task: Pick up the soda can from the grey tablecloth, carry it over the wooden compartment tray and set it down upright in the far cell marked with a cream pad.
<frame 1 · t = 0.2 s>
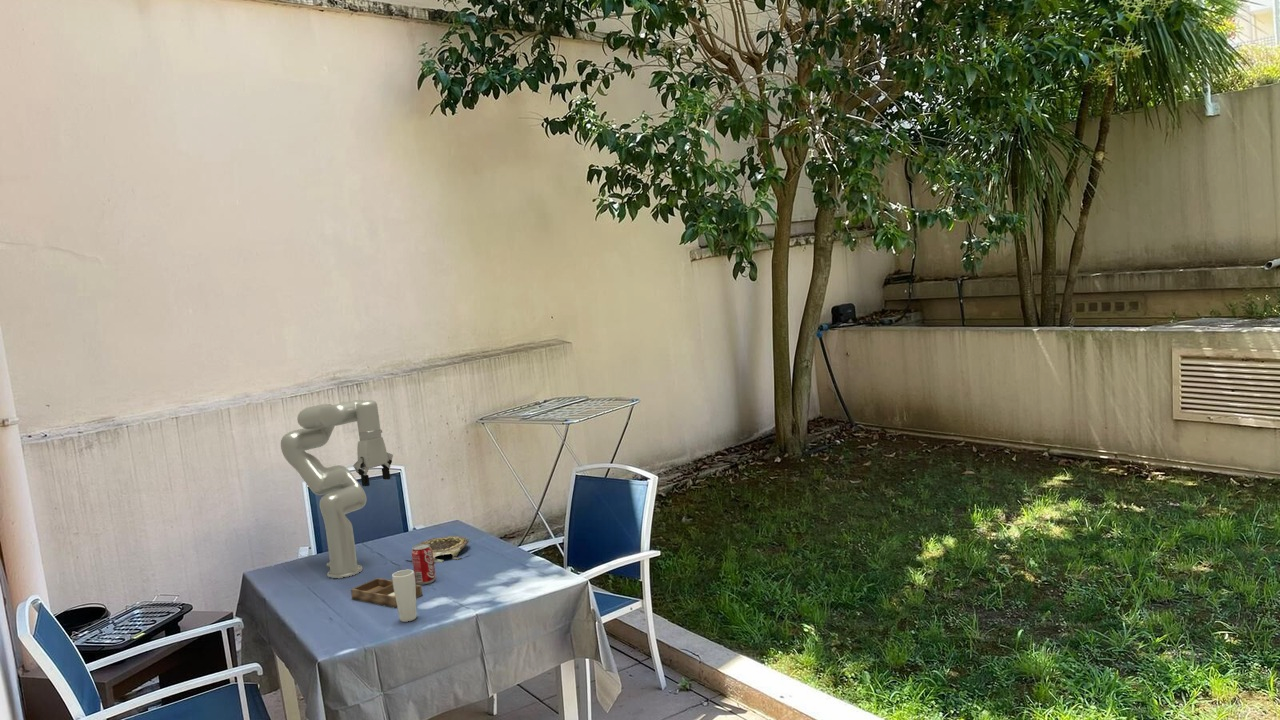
hand: (376, 482, 307), 36 cm above the table, tool pointing down, fingers open, 9 cm apart
pie: (443, 554, 338), on the table
soda can: (425, 582, 304), on the table
wooden compartment tray: (387, 597, 292), on the table
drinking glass: (408, 619, 270), on the table
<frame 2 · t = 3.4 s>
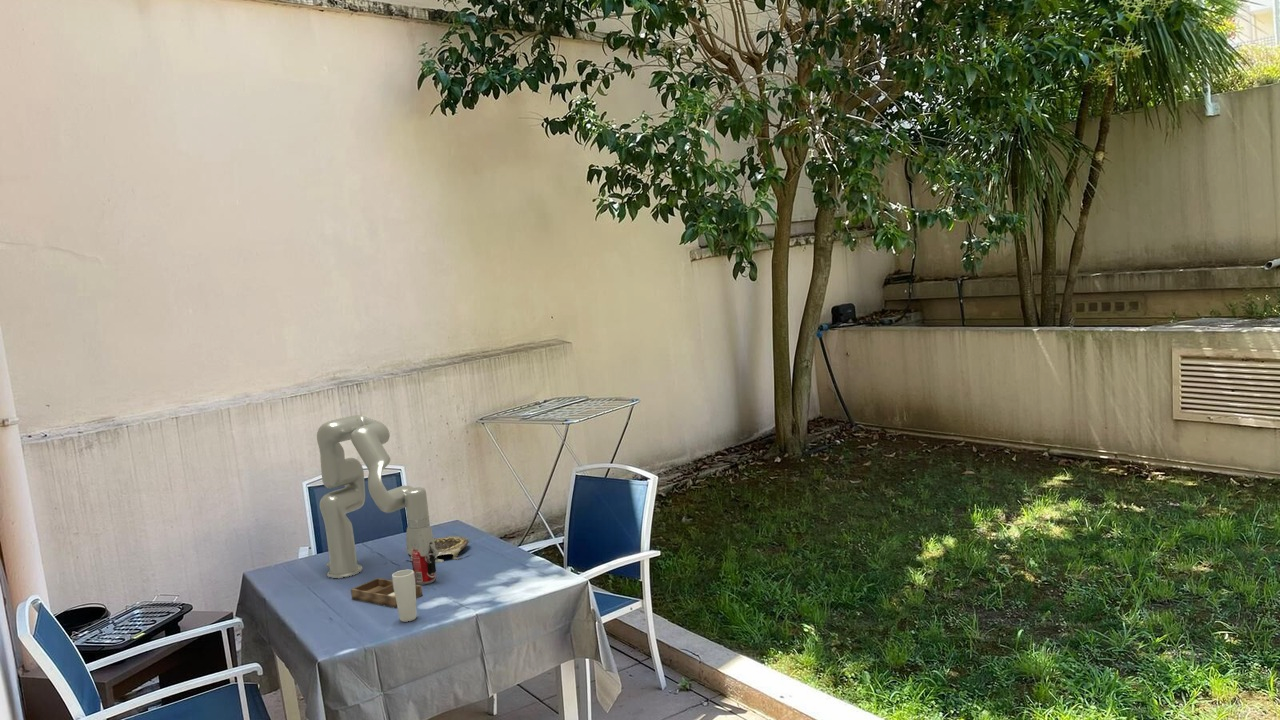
hand: (424, 571, 304), 4 cm above the table, tool pointing down, fingers closed on soda can, 7 cm apart
soda can: (425, 582, 304), on the table, touching gripper
everything else where it was.
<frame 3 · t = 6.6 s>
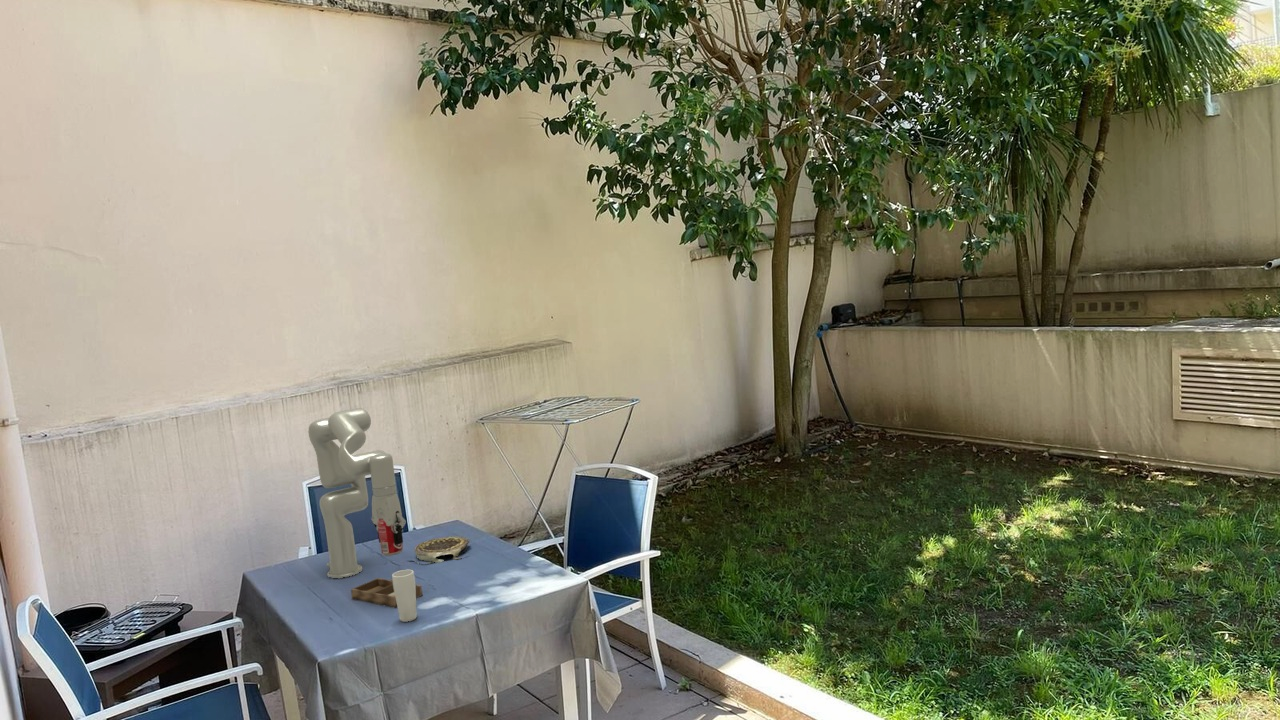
hand: (391, 542, 288), 20 cm above the table, tool pointing down, fingers closed on soda can, 7 cm apart
soda can: (392, 554, 288), point 16 cm above the table, touching gripper
everything else where it was.
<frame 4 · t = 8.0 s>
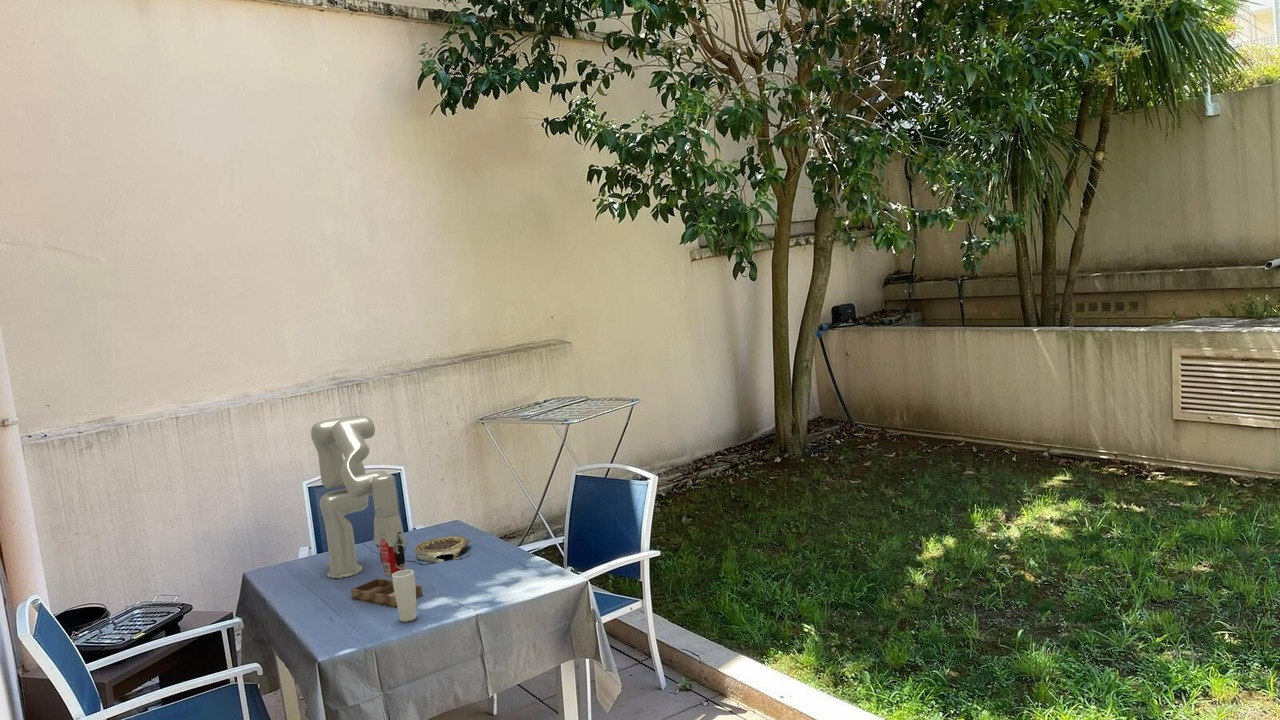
hand: (393, 562, 288), 13 cm above the table, tool pointing down, fingers closed on soda can, 7 cm apart
soda can: (394, 574, 288), point 9 cm above the table, touching gripper
everything else where it was.
when the fingers open (7 cm above the table, at t = 10.1 s): soda can drops 2 cm, resting on wooden compartment tray.
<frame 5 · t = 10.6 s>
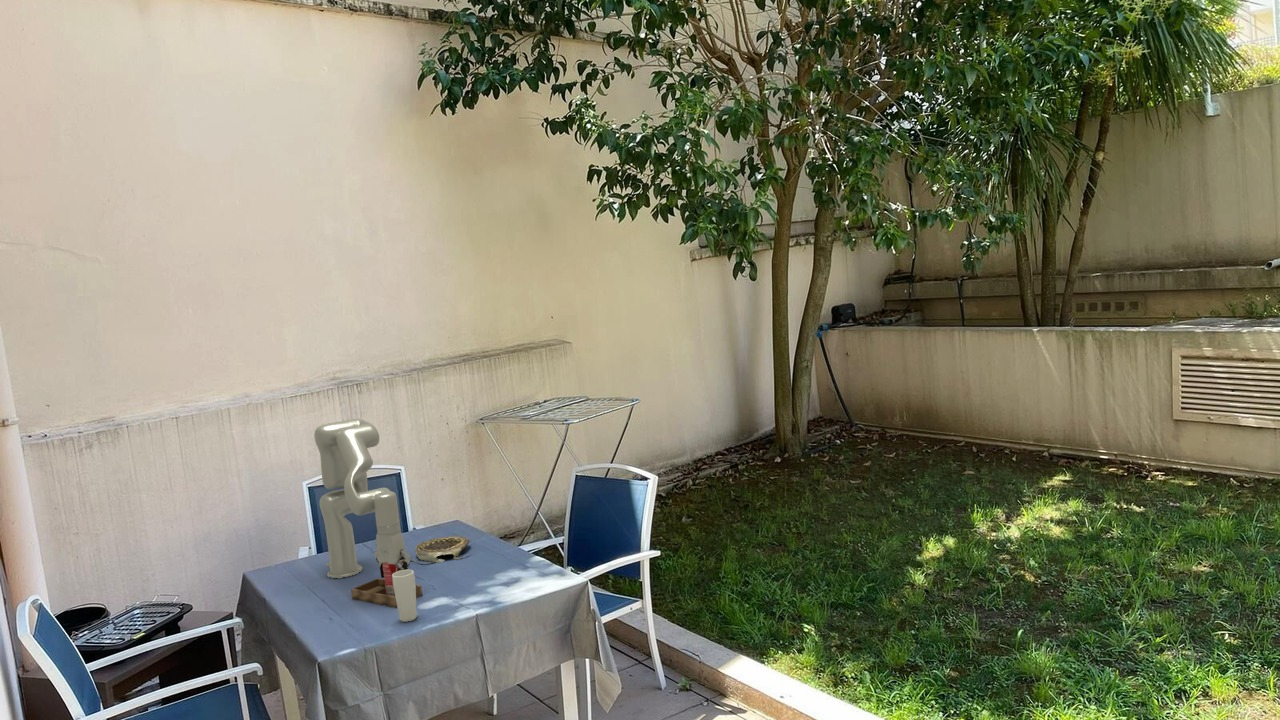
hand: (395, 578, 288), 7 cm above the table, tool pointing down, fingers open, 9 cm apart
soda can: (397, 596, 289), point 1 cm above the table, touching wooden compartment tray
everything else where it was.
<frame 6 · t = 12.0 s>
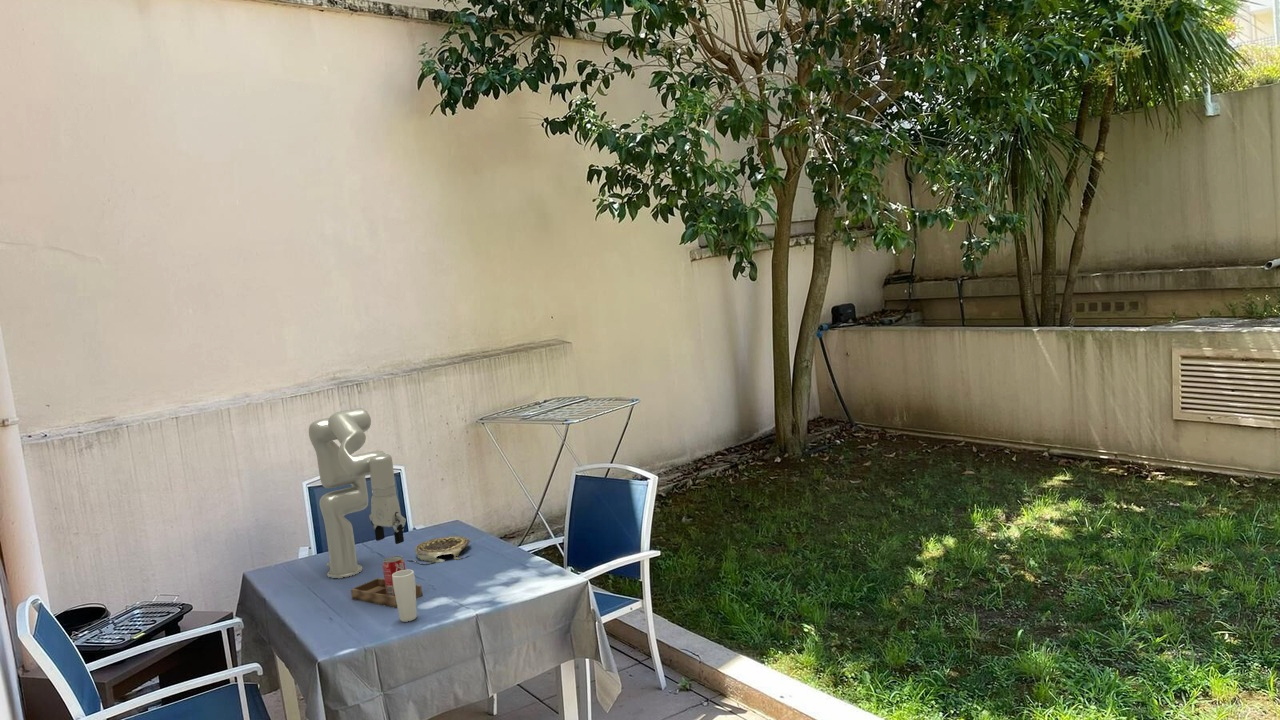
hand: (389, 541, 288), 20 cm above the table, tool pointing down, fingers open, 9 cm apart
nothing on the table moved.
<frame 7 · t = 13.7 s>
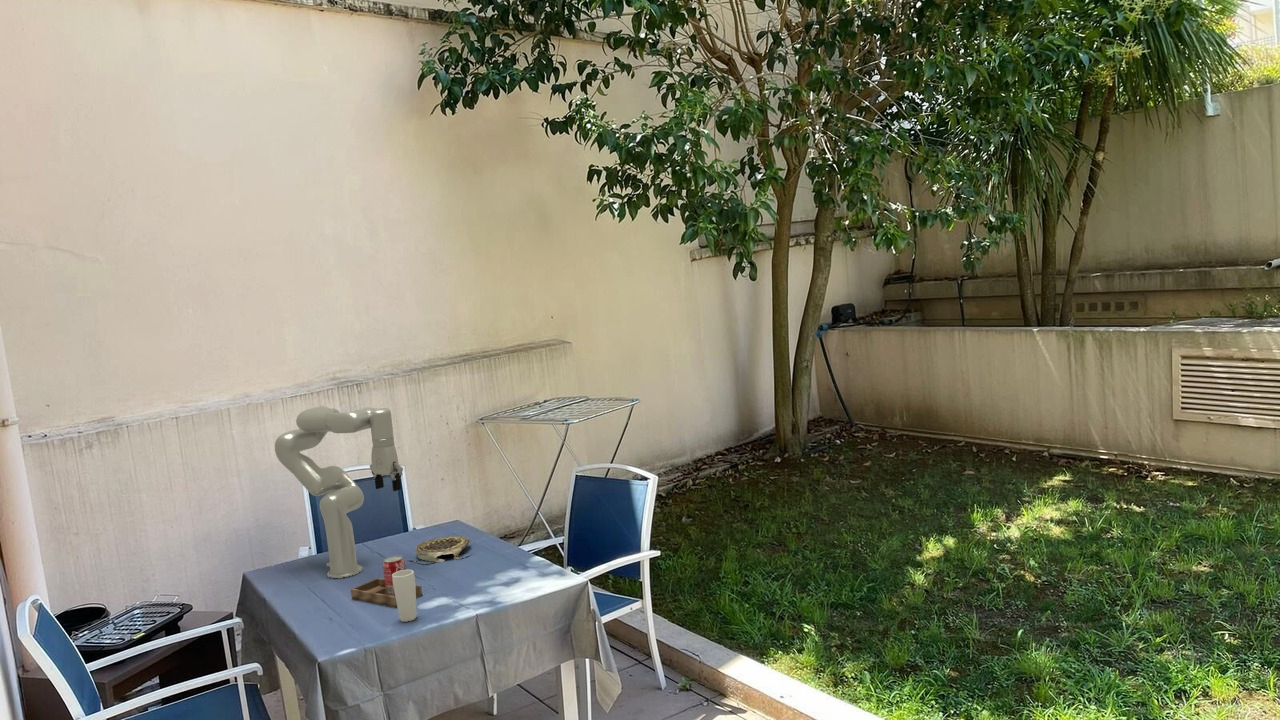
hand: (388, 489, 311), 33 cm above the table, tool pointing down, fingers open, 9 cm apart
nothing on the table moved.
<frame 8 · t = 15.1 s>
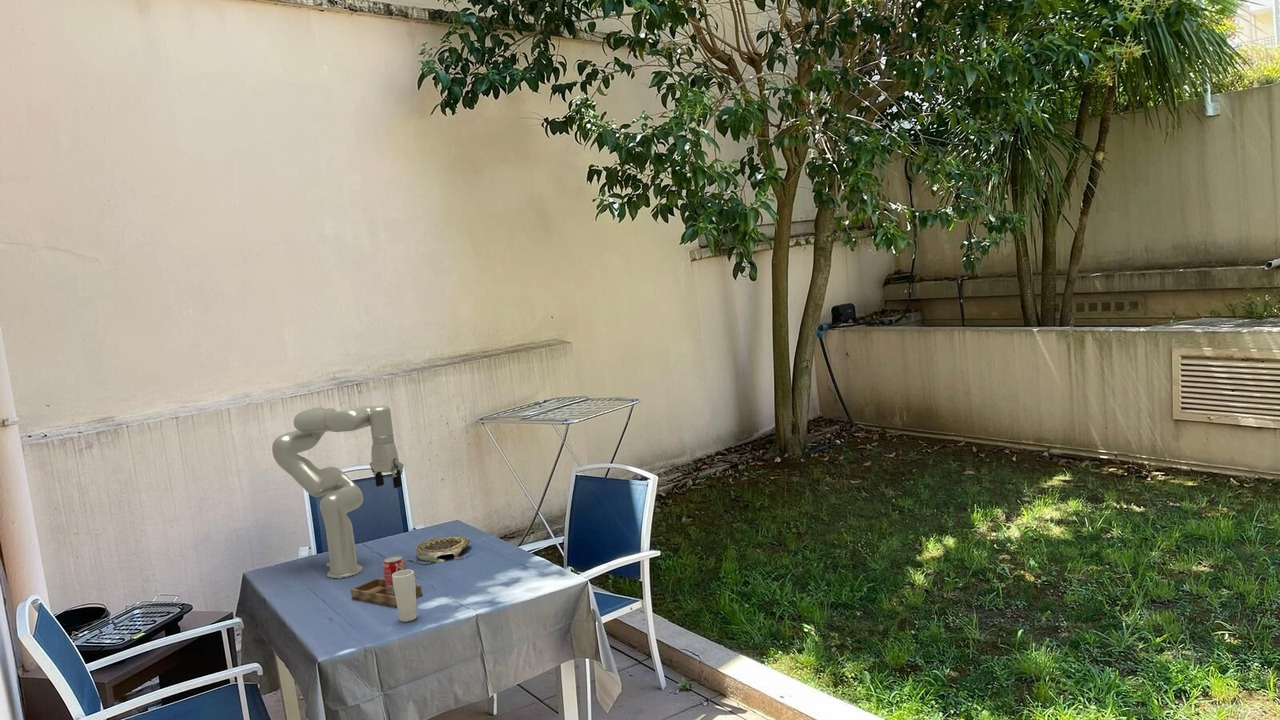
hand: (389, 486, 312), 33 cm above the table, tool pointing down, fingers open, 9 cm apart
nothing on the table moved.
at the end: soda can 0.2 cm from the target spot on the wooden compartment tray, point 0.9 cm above the wooden compartment tray's base; soda can tilted 0°; the gripper is holding nothing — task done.
